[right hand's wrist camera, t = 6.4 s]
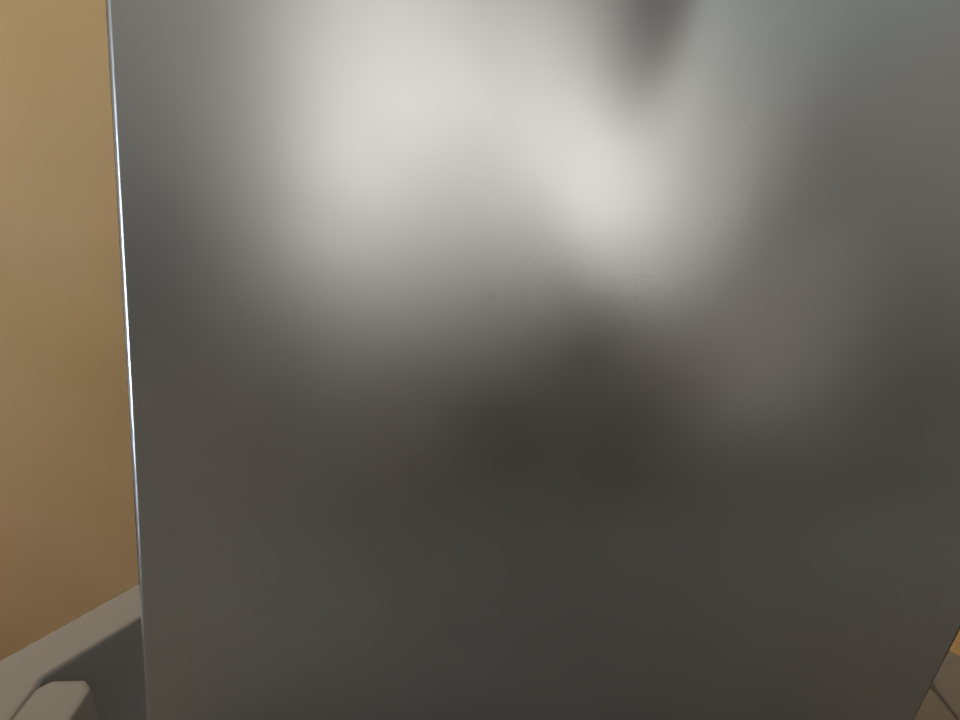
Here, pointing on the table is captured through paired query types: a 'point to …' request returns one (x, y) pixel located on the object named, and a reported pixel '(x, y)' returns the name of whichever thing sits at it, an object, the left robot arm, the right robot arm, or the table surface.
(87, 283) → the table surface
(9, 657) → the right robot arm
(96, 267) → the table surface
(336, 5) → the bar
